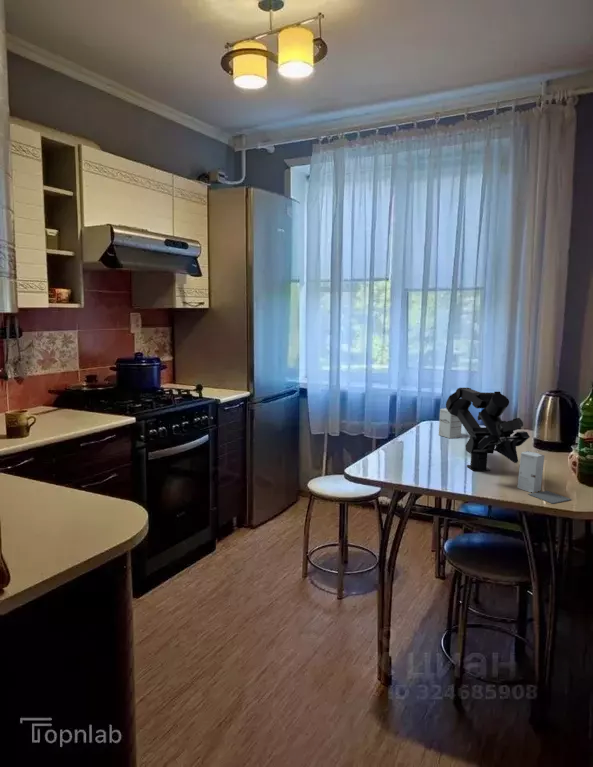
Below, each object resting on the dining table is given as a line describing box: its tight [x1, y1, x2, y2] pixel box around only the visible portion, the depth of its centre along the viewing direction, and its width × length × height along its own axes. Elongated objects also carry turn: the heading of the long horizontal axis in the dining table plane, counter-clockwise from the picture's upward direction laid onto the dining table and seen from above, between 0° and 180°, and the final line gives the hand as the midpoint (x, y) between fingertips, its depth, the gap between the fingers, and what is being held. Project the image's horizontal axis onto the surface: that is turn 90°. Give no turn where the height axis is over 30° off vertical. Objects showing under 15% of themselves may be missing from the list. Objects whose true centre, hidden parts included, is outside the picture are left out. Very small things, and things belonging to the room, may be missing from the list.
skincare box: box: [517, 450, 545, 493], centre depth 180 cm, size 6×4×12 cm
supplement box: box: [438, 407, 463, 439], centre depth 257 cm, size 7×7×13 cm
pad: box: [527, 490, 572, 505], centre depth 174 cm, size 9×8×1 cm
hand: (516, 462), depth 185 cm, fingers closed
